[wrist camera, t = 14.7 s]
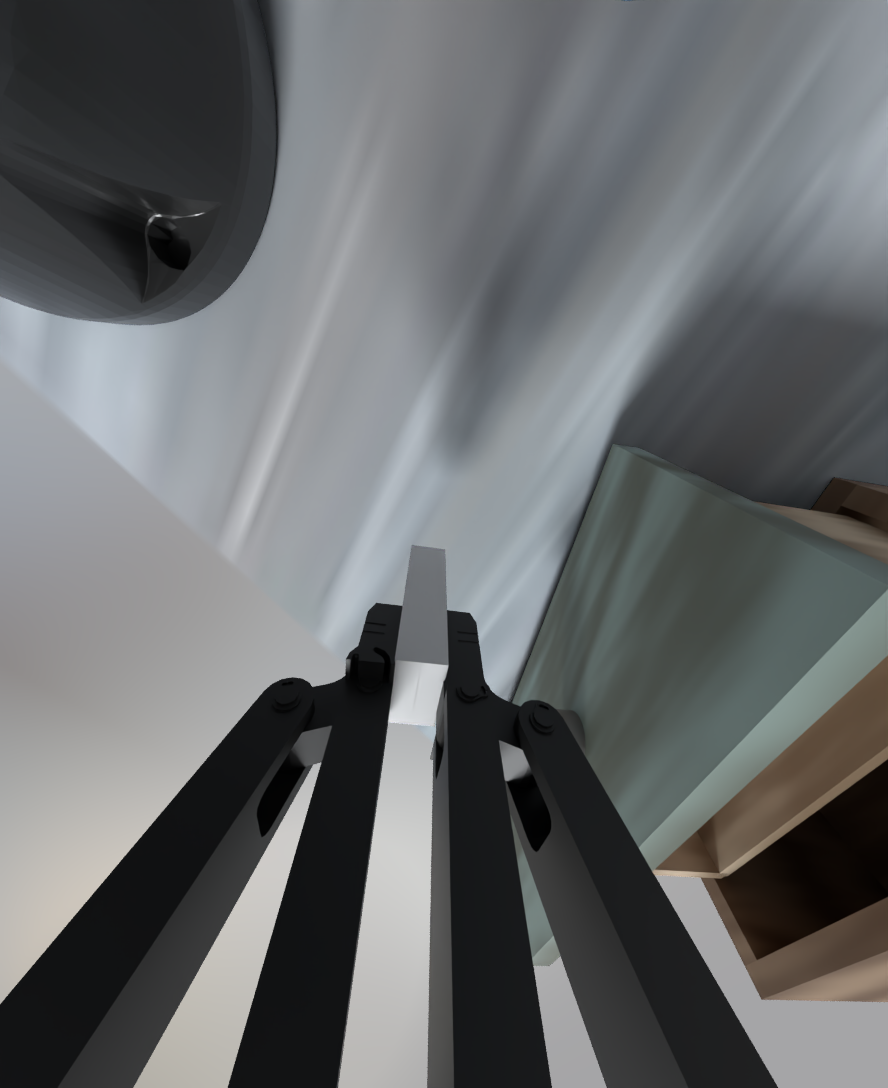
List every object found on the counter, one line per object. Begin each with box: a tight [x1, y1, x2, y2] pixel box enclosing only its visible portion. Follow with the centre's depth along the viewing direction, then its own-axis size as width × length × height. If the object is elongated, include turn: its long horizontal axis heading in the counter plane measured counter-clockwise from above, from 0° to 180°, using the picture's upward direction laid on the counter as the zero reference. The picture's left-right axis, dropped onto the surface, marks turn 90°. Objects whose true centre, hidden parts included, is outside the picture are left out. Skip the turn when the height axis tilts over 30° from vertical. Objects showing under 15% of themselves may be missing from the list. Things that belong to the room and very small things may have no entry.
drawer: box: [510, 444, 888, 966], centre depth 19 cm, size 16×26×12 cm, turn 171°
